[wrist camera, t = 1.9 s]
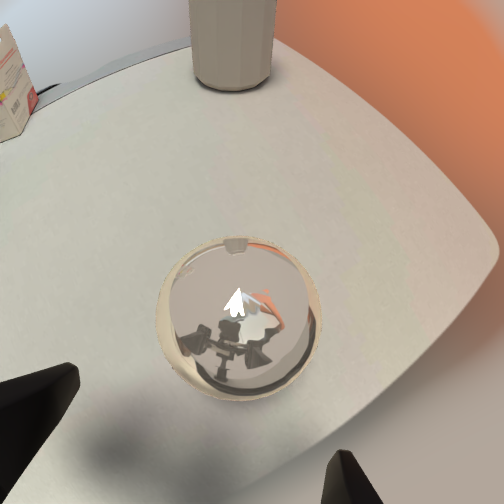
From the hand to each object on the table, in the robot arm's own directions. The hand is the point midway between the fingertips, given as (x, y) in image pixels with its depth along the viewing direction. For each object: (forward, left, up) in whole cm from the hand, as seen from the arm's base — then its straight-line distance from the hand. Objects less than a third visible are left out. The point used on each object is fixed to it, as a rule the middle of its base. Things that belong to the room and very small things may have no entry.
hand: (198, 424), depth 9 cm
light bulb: (+4, -1, -11) cm, 12 cm away
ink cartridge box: (+31, +32, -11) cm, 46 cm away
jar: (+37, +2, -11) cm, 39 cm away
